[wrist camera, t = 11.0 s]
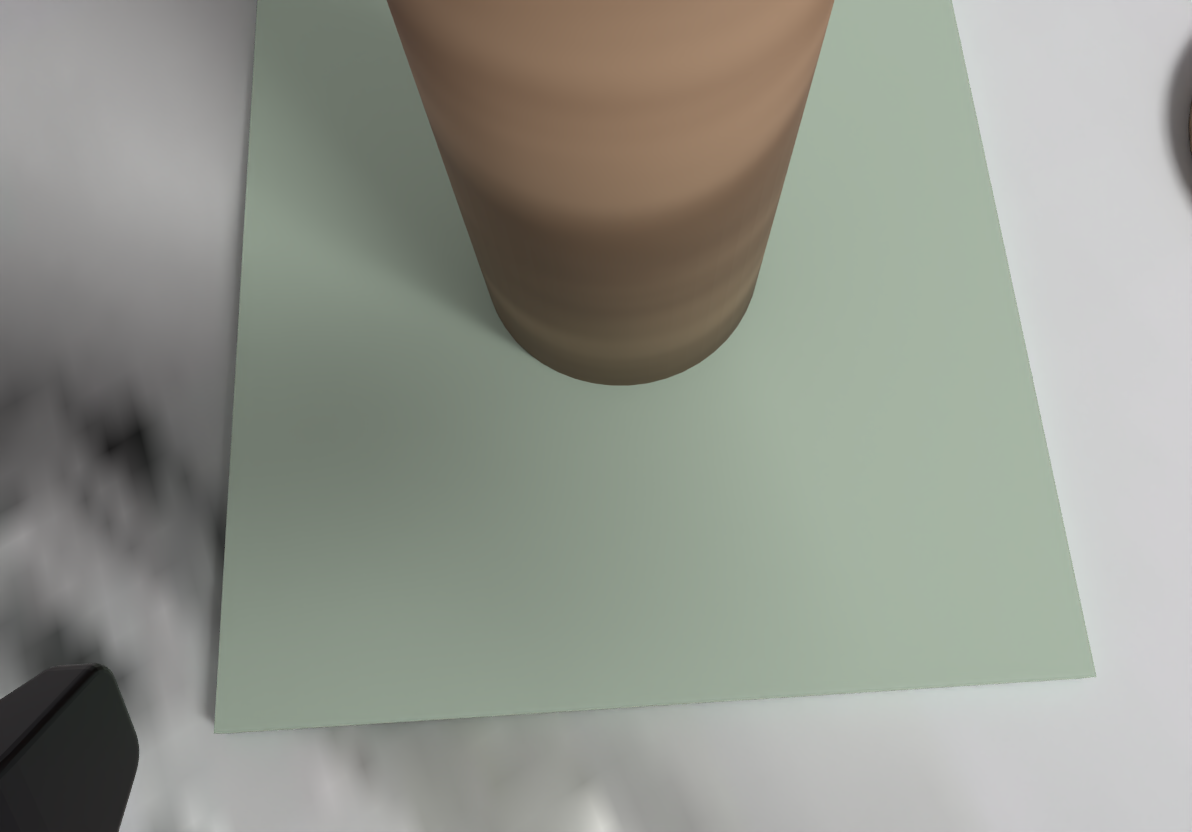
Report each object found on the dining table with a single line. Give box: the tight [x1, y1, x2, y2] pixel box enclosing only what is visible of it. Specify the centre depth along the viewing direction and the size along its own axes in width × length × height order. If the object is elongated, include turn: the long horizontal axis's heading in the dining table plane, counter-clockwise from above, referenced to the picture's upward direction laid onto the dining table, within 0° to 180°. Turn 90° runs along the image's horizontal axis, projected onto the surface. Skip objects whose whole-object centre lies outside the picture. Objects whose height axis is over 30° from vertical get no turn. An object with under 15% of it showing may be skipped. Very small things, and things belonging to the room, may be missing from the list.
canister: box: [387, 0, 835, 386], centre depth 12 cm, size 5×5×13 cm
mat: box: [214, 0, 1096, 734], centre depth 18 cm, size 16×14×1 cm
